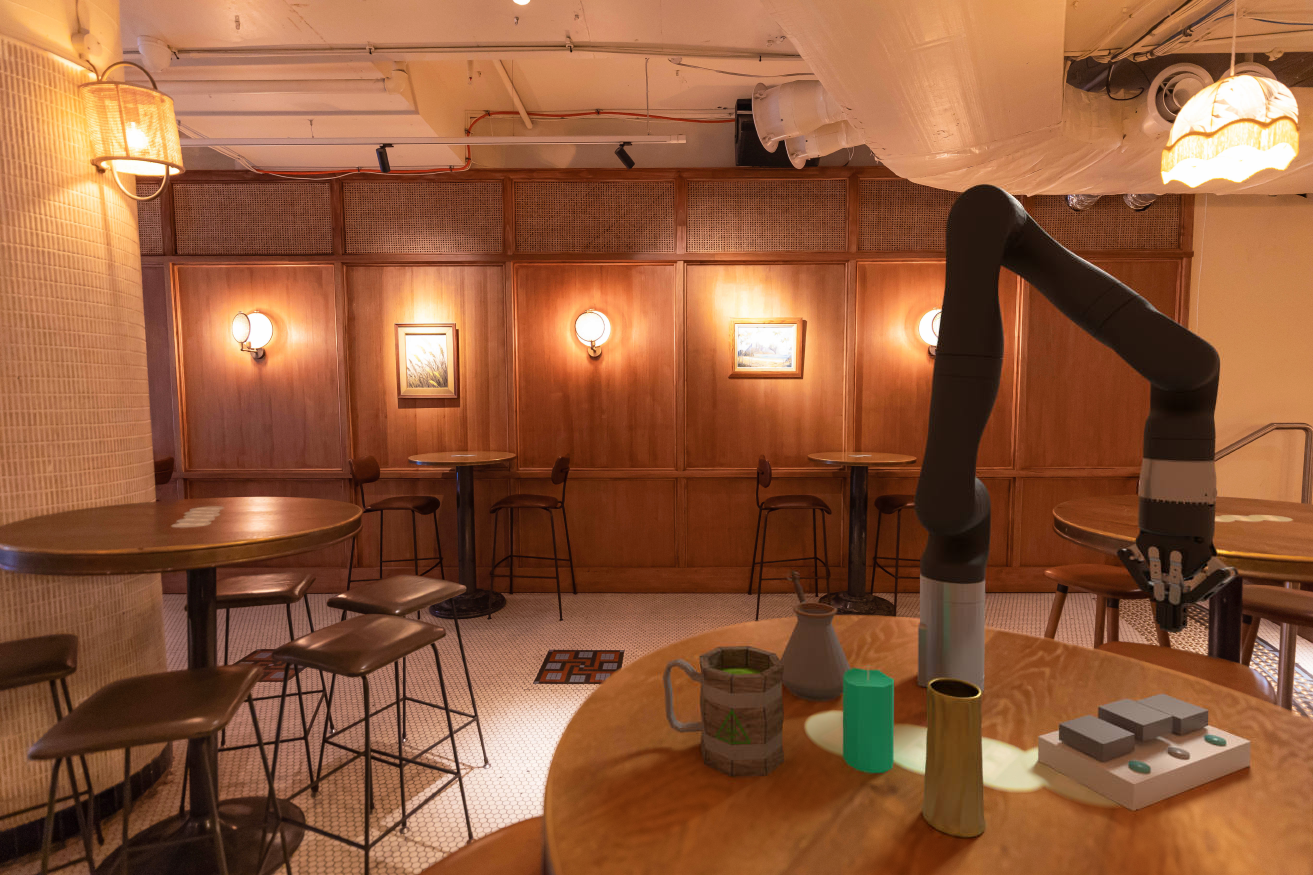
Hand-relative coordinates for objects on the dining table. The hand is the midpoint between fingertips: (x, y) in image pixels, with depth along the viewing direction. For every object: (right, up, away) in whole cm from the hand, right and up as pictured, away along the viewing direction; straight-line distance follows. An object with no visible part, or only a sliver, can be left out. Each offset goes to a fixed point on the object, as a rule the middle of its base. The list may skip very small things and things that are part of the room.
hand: (1171, 630), depth 82 cm
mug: (-57, -16, +1) cm, 59 cm away
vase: (-34, -16, -14) cm, 40 cm away
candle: (-39, -16, -2) cm, 42 cm away
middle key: (-7, -11, -3) cm, 13 cm away
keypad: (-6, -15, -3) cm, 17 cm away
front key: (-13, -12, -5) cm, 19 cm away
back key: (0, -12, 0) cm, 12 cm away
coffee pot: (-41, -15, +23) cm, 49 cm away
